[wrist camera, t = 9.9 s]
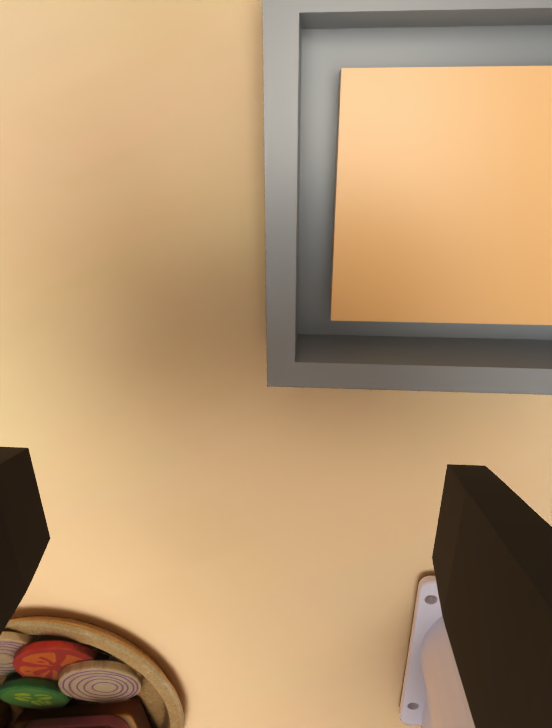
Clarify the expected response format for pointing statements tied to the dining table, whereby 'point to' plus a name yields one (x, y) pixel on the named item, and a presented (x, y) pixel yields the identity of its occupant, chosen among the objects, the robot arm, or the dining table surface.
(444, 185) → the box
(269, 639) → the dining table surface
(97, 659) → the toy sandwich meal
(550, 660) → the robot arm
